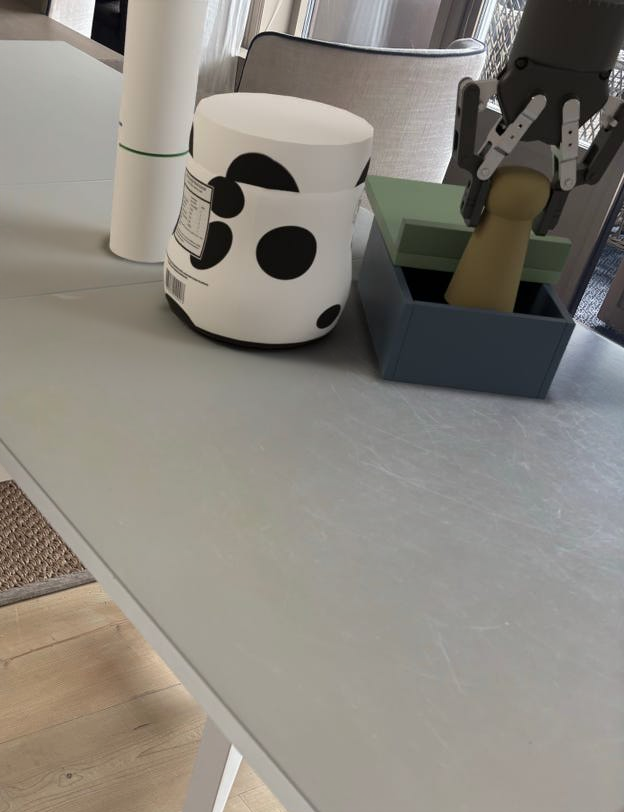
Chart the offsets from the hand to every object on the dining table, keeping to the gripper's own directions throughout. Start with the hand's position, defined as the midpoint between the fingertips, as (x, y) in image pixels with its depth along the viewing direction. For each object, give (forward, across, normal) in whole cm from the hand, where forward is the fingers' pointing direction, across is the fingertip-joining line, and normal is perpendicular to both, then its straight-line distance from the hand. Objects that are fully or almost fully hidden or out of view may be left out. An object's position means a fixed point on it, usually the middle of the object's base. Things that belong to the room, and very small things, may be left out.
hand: (504, 227), depth 81 cm
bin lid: (+6, 0, +15) cm, 16 cm away
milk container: (+13, -19, +6) cm, 24 cm away
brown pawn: (+7, 0, 0) cm, 7 cm away
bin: (+13, 0, +7) cm, 15 cm away
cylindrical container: (+13, -30, +20) cm, 38 cm away
